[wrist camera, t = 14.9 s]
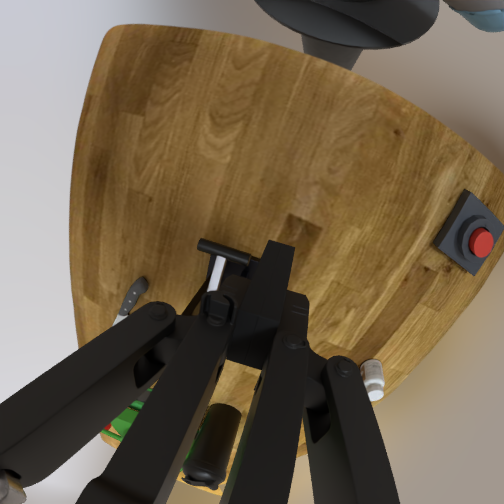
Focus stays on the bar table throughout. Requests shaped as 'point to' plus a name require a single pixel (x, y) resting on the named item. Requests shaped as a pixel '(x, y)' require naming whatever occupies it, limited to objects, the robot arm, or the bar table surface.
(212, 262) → the bracket
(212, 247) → the lever
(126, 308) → the kitchen knife
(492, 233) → the control block
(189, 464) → the water bottle
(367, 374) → the pill bottle
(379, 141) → the bar table surface
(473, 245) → the button
